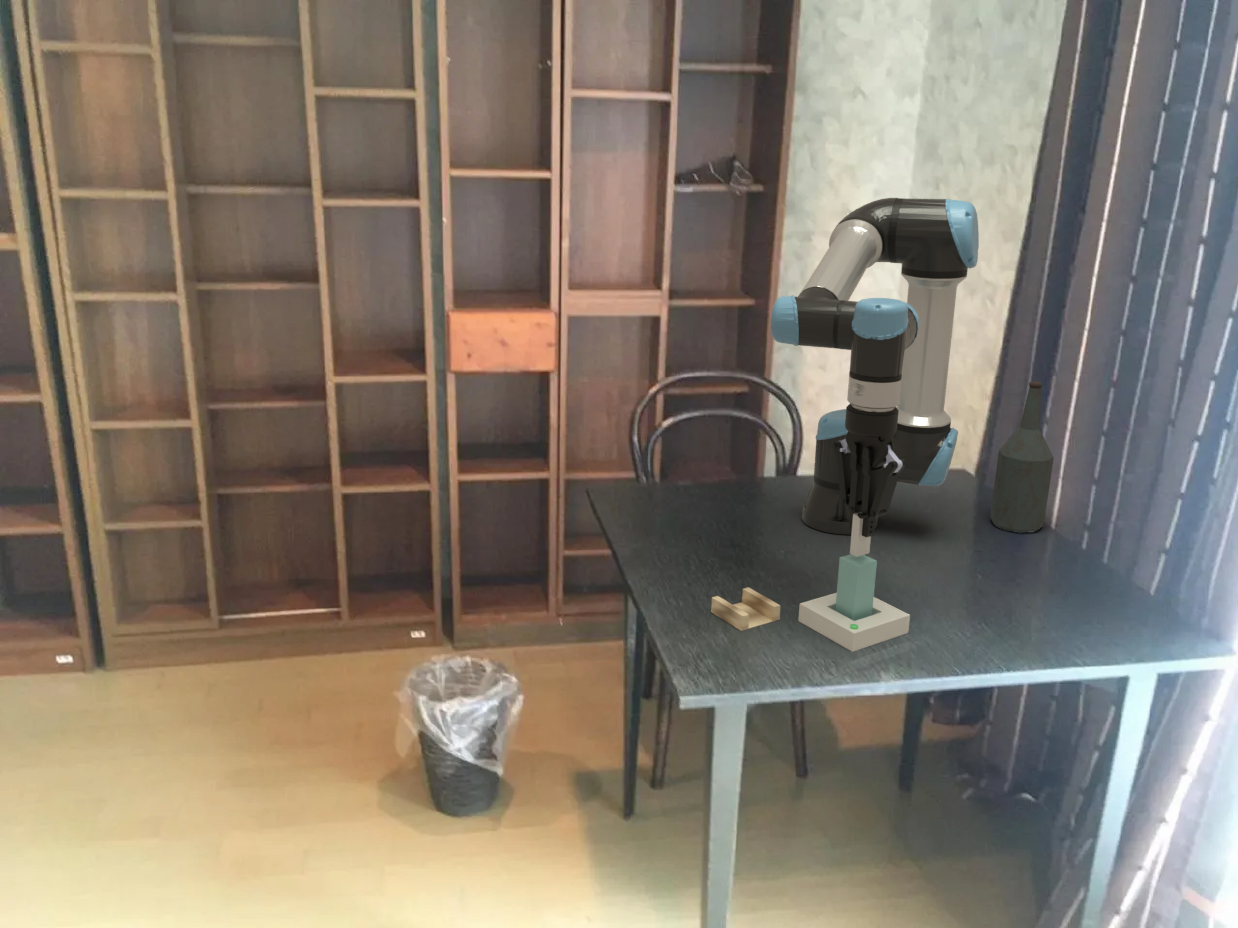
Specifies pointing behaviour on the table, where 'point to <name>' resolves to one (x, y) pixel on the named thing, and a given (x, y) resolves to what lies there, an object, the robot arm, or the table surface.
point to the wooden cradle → (746, 610)
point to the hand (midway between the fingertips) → (859, 553)
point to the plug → (855, 586)
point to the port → (853, 622)
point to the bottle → (1023, 472)
